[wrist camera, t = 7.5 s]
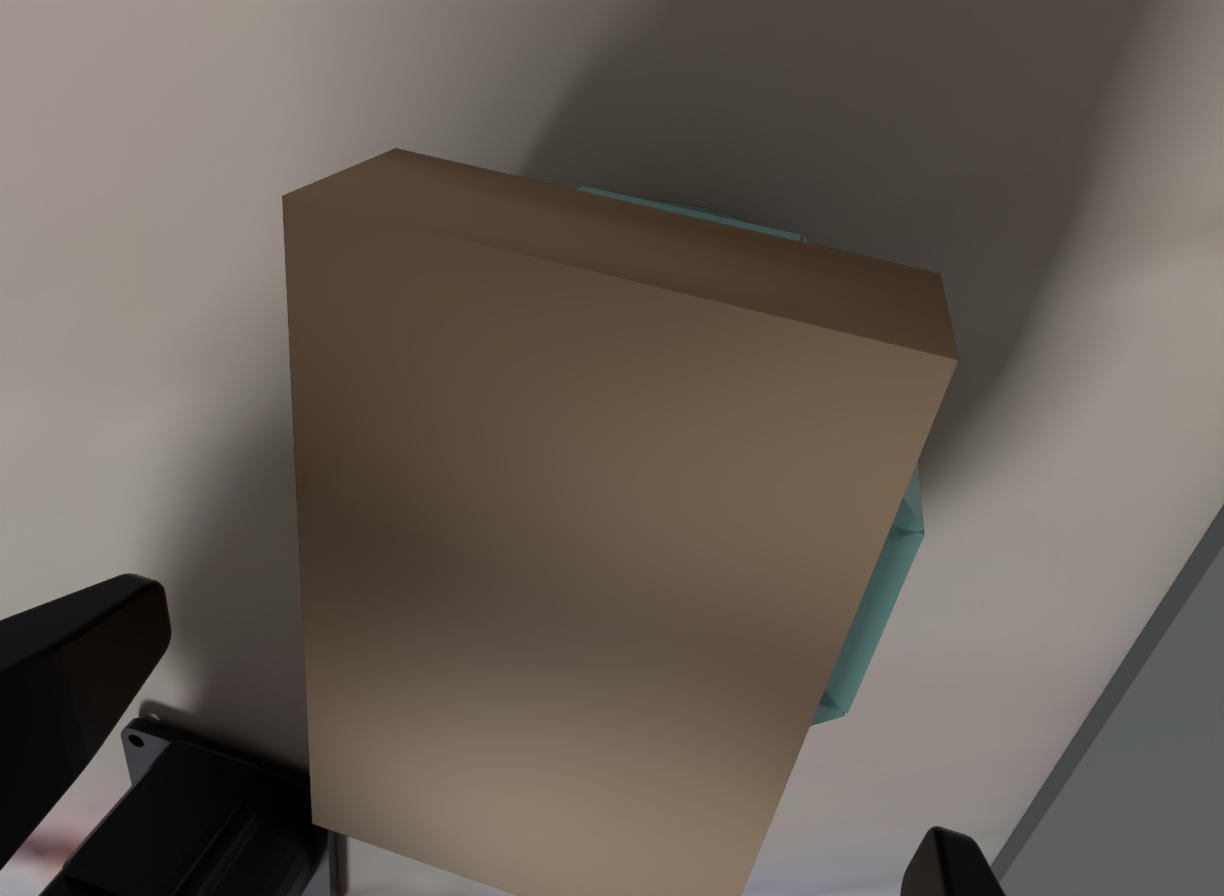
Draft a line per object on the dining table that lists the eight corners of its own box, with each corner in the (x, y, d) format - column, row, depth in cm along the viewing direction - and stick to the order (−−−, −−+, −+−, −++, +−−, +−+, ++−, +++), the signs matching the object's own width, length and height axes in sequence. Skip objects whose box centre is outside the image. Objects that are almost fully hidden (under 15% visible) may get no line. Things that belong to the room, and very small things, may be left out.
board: (734, 826, 15) (713, 964, 13) (384, 711, 16) (312, 824, 14) (940, 273, 10) (958, 360, 8) (395, 148, 10) (282, 195, 8)
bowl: (817, 644, 18) (803, 816, 14) (436, 534, 19) (337, 667, 15) (965, 252, 13) (998, 361, 10) (456, 140, 15) (324, 201, 11)
